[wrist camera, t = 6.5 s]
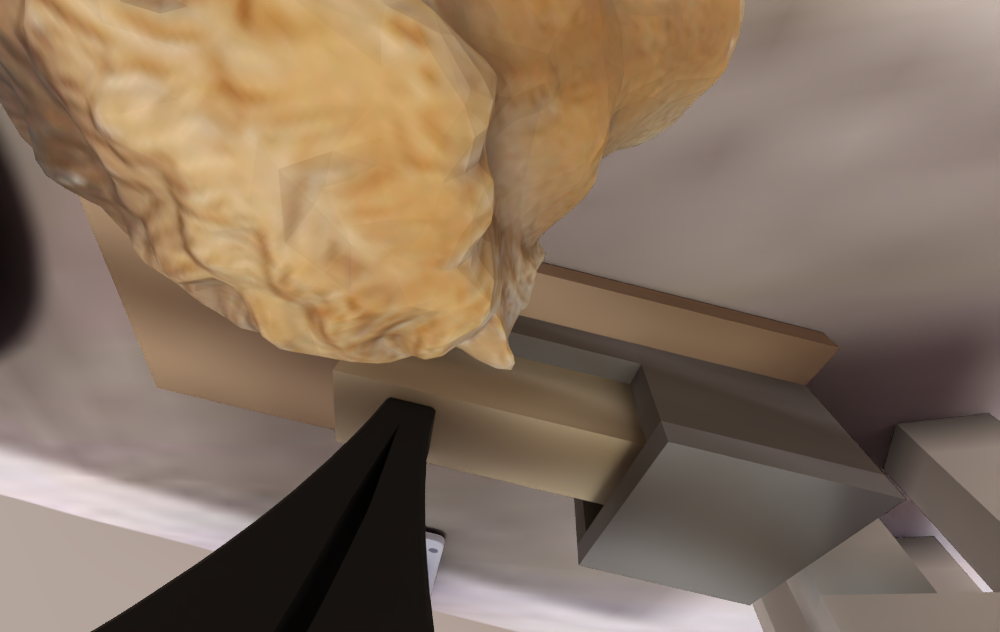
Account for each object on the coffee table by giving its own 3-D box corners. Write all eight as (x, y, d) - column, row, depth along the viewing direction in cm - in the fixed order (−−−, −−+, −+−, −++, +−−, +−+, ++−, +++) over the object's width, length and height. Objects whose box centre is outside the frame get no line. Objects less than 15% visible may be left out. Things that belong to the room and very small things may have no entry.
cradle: (681, 495, 16) (723, 623, 12) (174, 374, 15) (51, 466, 12) (822, 332, 11) (967, 458, 7) (92, 150, 11) (-163, 181, 7)
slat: (682, 461, 14) (707, 529, 11) (369, 386, 13) (336, 441, 11) (726, 406, 12) (764, 473, 10) (371, 320, 12) (332, 369, 10)
